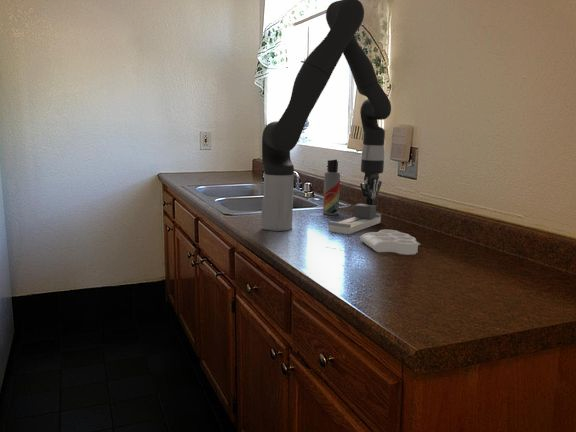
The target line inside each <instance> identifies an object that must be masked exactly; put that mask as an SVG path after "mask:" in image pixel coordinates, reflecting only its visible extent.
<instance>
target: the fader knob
mask: <svg viewBox="0 0 576 432" xmlns="http://www.w3.org/2000/svg"><path fill="white" fill-rule="evenodd" d="M376 211H377V205H375V204H374V205H368V204H366V203H357V204H354V205H353V217H358V218H365V219H372V218H375V217H376V213H377V212H376Z"/></svg>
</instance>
